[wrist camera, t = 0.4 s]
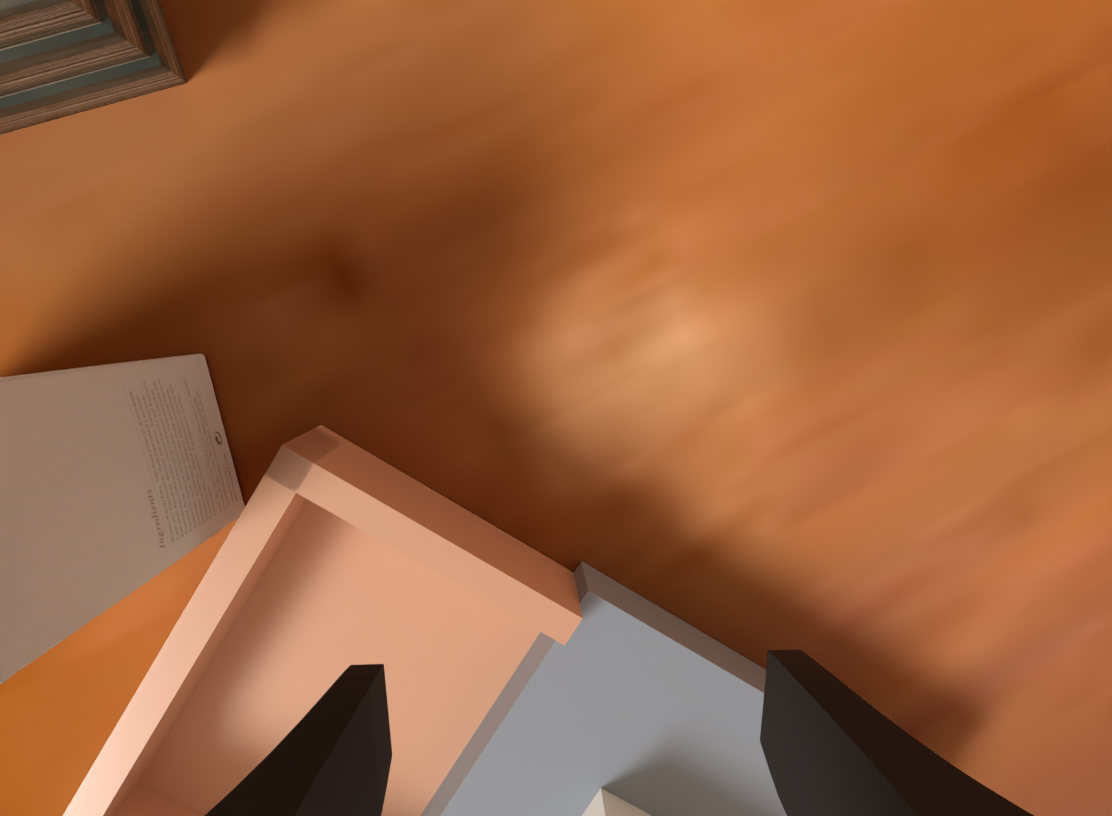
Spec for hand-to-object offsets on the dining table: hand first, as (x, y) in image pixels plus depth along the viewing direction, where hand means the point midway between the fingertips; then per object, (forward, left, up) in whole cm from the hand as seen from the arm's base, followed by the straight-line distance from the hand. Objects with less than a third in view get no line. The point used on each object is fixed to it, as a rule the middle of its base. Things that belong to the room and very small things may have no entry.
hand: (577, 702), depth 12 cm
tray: (-9, +3, -10) cm, 14 cm away
